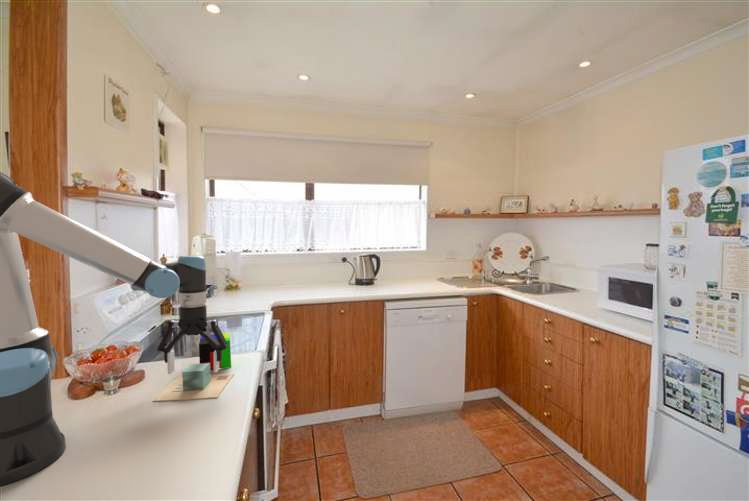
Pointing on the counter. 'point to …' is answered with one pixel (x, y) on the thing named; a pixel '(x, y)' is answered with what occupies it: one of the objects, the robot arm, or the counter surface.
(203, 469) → the counter surface
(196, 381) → the teal block
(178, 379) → the letter card
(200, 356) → the puzzle toy
